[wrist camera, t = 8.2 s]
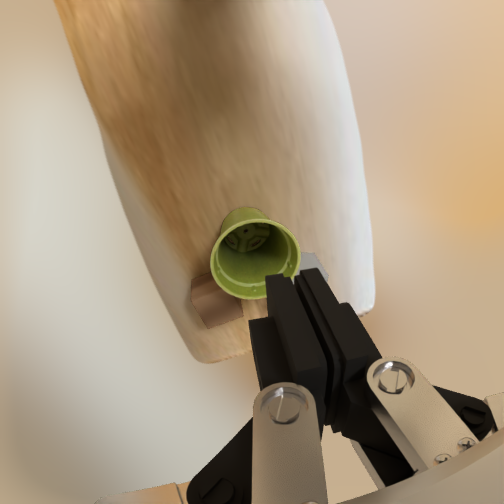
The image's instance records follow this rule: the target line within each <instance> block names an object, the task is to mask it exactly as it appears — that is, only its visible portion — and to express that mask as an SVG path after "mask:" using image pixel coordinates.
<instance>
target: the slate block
mask: <svg viewBox="0 0 504 504" xmlns="http://www.w3.org/2000/svg"><path fill="white" fill-rule="evenodd" d="M316 267H317V268H318V269H319V271H320V272H321V274H322V275H323V277H324V279H325V280H326V282H327V281H328V276H329V275H328V274H327V272H326V271H325V269H324V267H323V266H322V264H321V263H320V261H319V259H318V258H317V256H316V255H315V253H301V260H300V265H299V268H298V271H297V273H296V275H299V272H300V270H304V269H310V268H316ZM292 282H293V284H294V278H293V280H292Z"/></svg>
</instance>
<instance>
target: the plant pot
mask: <svg viewBox="0 0 504 504" xmlns="http://www.w3.org/2000/svg"><path fill="white" fill-rule="evenodd" d="M262 223H264V224H262ZM245 229H247V230H248V232H247V233H245V232H244V230H245ZM228 236H229V237H230V238H231V240H232V241H233V243H235V244H232V243H230V242H229V240H228V239H227V237H228ZM259 239H260V242H259V243H257V245H255V246H251V245H252V244H253V243H255V242H257V241H258V240H259ZM300 260H301V252H300V247H299V244H298V242H297V240H296V238H295V236H294V235H293V234H292V233H291V232H290V231H289V230H288V229H287V228H286V227H284V226H283V225H281V224H280V223H278V222H275V221H273V220H270V219H269V218H268V217H267V216H266V215H265V214H264V213H262V212H261V211H260V210H258V209H255V208H250V207H242V208H238V209H236V210H234V211H232V212H231V213H230V214H229V215H228V216H227V217H226V218H225V219H224V221H223V224H222V228H221V234H220V237H219V238H218V239H217V241H216V243H215V244H214V247H213V249H212V252H211V257H210V268H211V272H212V275H213V277H214V279H215V281H216V283H217V284H218V285H219V286H220V287H221V288H222V289H223V290H224V291H226V292H227V293H229V294H231V295H233V296H235V297H238V298H242V299H250V300H254V299H261V298H266V297H267V296H266V285H265V276H266V275H273V274H279V273H283V275H284V277H290V278H291V280H293V278H294V276H295V275H296V273H297V271H298V268H299V265H300Z"/></svg>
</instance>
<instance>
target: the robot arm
mask: <svg viewBox="0 0 504 504" xmlns="http://www.w3.org/2000/svg"><path fill="white" fill-rule="evenodd" d="M265 285H266V296H267V308H268V317H265V318H259V319H253V320H248V322H249V330H250V337H251V344H252V350H253V355H254V361H255V366H256V371H257V376H258V381H259V386H260V391H261V392H260V393H259V394H258V395H257V397H256V399H255V401H254V406H253V417H252V418H251V419H250V420H249V421H248V423H247V424H246V425H245V426H244V427H243V428H242V429H241V430H240V431H239V432H238V433H237V434H236V436H234V437H233V439H232V440H231V441H230V442H229V443H228V444H227V445H226V446H225V447H224V448H223V449H222V450H221V451H220V452H219V453H218V454H217V455H216V456H215V457H214V458H213V459H212V460H211V461H210V462H209V463H208V464H207V465H206V466H205V467H204V468H203V469H202V470H201V471H200V472H199V473H198V474H197V475H196V476H195V477H194V478H193V479H192V480H191V481H189V482H185V483H181V484H177V485H176V483H170V484H166V485H161V486H157V487H152V488H147V489H142V490H137V491H131V492H125V493H119V494H113V495H107V496H104V497H102V498H100V499H99V500H98V501H97V502H95V504H328V498H327V489H326V481H325V472H324V465H323V456H322V448H321V439H322V433H323V426H324V425H325V426H327V425H331V428H332V431H333V433H337V432H340V431H341V433H342V436H344V437H346V438H349V439H350V441H351V443H352V446H353V448H354V450H355V451H356V453H357V455H358V456H359V458H360V460H361V461H362V463H363V465H364V466H365V468H366V469H367V471H368V473H369V475H370V476H371V478H372V480H373V481H374V483H375V485H376V486H377V488H378V491H375V492H372V493H369V494H366V495H363V496H360V497H357V498H354V499H351V500H347V501H344V502H341V503H337V504H504V392H502V393H499V394H495V395H491V396H488V397H486V398H485V399H484V400H483V401H482V400H479V399H477V398H474V397H471V396H467V395H464V394H460V393H457V392H453V391H450V390H447V389H443V388H440V387H437V386H433V385H431V384H430V383H429V381H428V380H427V379H426V378H425V377H424V376H423V374H422V373H421V372H420V371H419V370H418V369H417V368H416V367H415V366H414V365H413V364H412V363H411V362H409V361H407V360H405V359H403V358H398V357H385V358H382V356H381V354H380V353H379V351H378V349H377V348H376V346H375V344H374V343H373V341H372V339H371V338H370V336H369V334H368V333H367V331H366V329H365V328H364V326H363V324H362V323H361V321H360V319H359V318H358V316H357V315H356V313H355V311H354V310H353V308H352V307H351V305H350V304H349V303H347V302H345V303H341V304H339V302H338V301H337V299H336V297H335V296H334V294H333V292H332V291H331V289H330V287H329V285H328V284H327V282H326V280H325V279H324V277H323V275H322V274H321V272H320V271H319V269H318V268H317V267H316V268H310V269H304V270H300V272H299V275H295V276H294V284H293V282H292V280H291V278H290V277H284V275H283V273H279V274H273V275H266V276H265Z"/></svg>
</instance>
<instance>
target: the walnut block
mask: <svg viewBox="0 0 504 504" xmlns="http://www.w3.org/2000/svg"><path fill="white" fill-rule="evenodd" d="M191 302H192V304H193V305H194V307H195V309H196V310H197V312H198V313H199V315H200V317H201V318H202V320H203V322H204V323H205V325H206V326H207V328H208V329H210V328H212V327H215V326H218V325H221V324H223V323H226V322H229V321H232V320H234V319H237V318H240V317H243V316H244V315H243V310H242V305H241V299H240V298H238V297H235V296H233V295H231V294H229V293H227V292H226V291H224V290H223V289H222V288H221V287H220V286H219V285H218V284H217V283H216V281H215V279H214V277H213V275H212V272H210V273H207V274H205V275H202V276H200V277H197V278H195V279H192V286H191Z"/></svg>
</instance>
